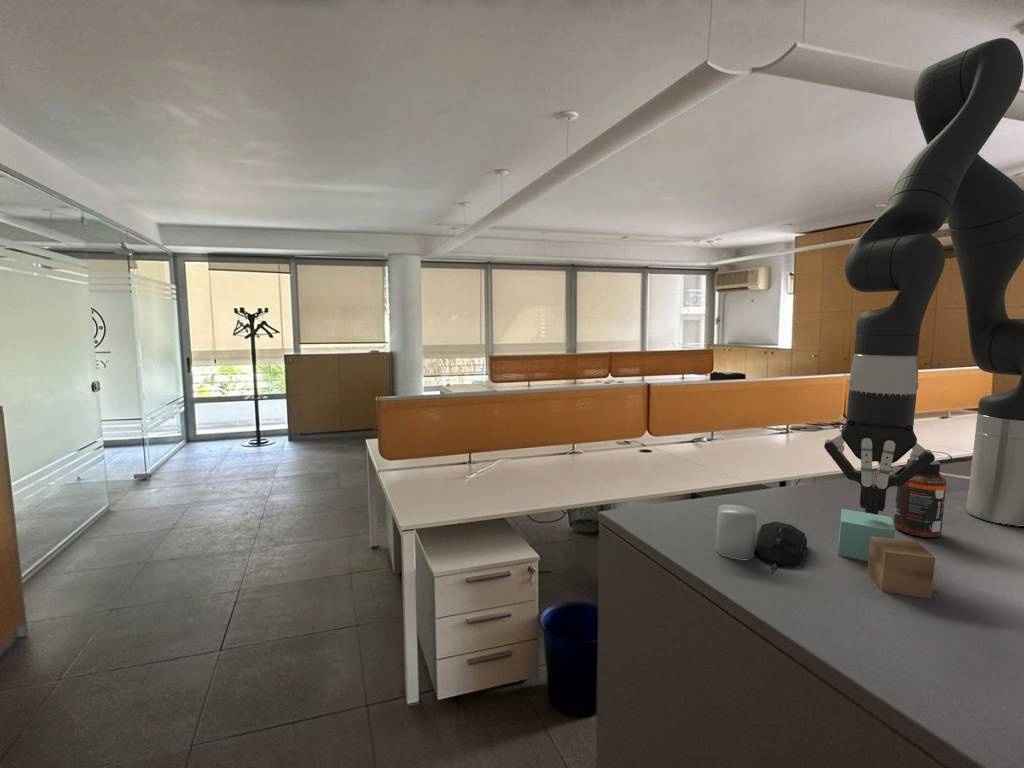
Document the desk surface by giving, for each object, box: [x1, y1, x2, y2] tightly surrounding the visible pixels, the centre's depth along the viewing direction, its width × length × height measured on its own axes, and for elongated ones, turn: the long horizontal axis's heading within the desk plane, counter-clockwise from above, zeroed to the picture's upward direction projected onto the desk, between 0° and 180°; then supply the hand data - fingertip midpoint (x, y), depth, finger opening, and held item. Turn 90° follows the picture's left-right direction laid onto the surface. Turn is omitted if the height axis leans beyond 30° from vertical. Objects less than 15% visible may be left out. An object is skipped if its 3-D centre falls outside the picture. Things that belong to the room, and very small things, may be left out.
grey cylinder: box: [715, 504, 758, 560], centre depth 73 cm, size 5×5×6 cm
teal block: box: [837, 508, 896, 562], centre depth 74 cm, size 6×6×5 cm
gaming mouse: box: [754, 521, 808, 575], centre depth 73 cm, size 6×15×4 cm, turn 148°
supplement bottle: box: [893, 457, 947, 539], centre depth 81 cm, size 6×6×11 cm
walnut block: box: [866, 536, 936, 599], centre depth 64 cm, size 5×5×5 cm
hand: (871, 511), depth 73 cm, fingers closed
